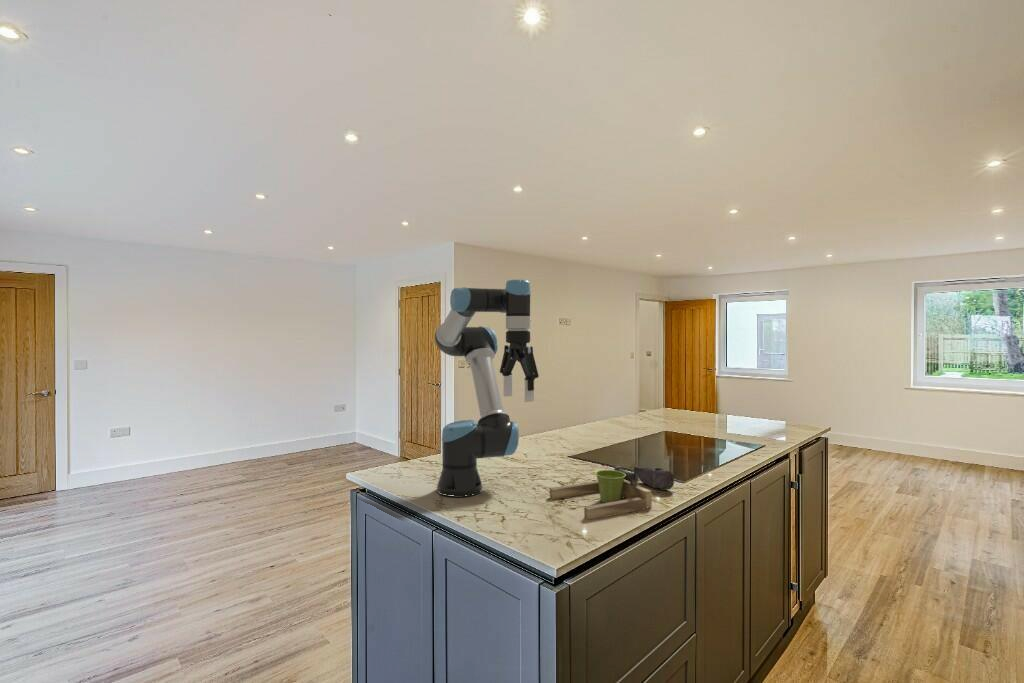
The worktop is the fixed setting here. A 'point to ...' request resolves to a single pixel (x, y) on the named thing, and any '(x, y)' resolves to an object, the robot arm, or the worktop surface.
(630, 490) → the bay
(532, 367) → the robot arm
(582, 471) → the worktop surface
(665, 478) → the perforated stone tool
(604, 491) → the plant pot
